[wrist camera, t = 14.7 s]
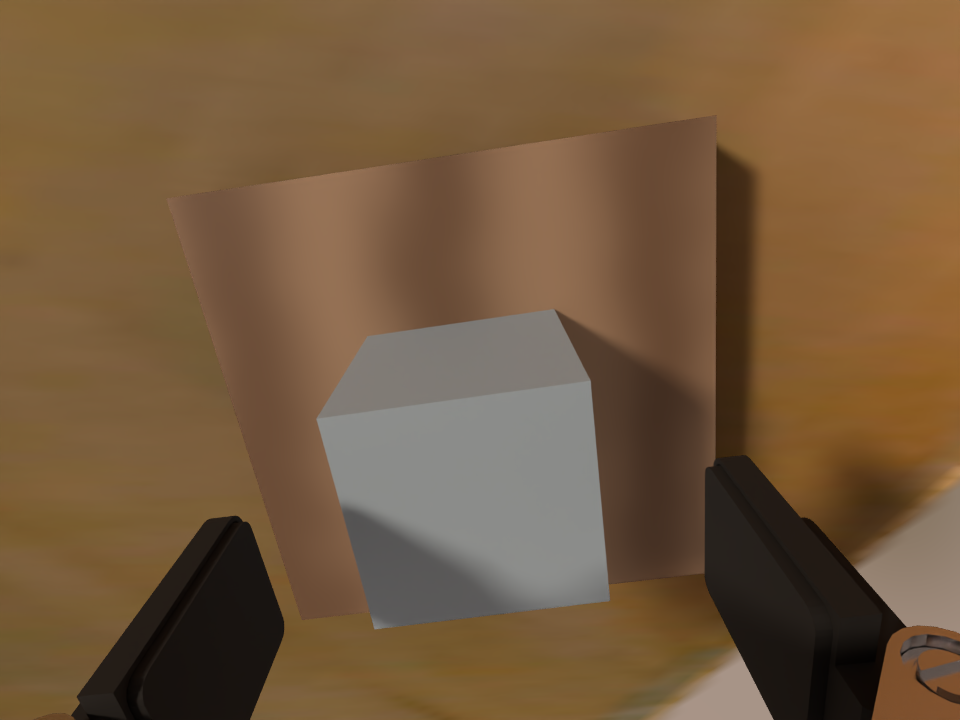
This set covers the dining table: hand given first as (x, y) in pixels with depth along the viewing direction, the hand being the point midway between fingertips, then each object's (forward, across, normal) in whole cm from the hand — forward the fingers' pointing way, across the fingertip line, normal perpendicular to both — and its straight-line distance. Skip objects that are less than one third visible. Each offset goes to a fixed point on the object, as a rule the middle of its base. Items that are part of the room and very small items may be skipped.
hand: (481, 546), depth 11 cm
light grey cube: (+8, 0, +1) cm, 8 cm away
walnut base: (+11, 0, +1) cm, 11 cm away
